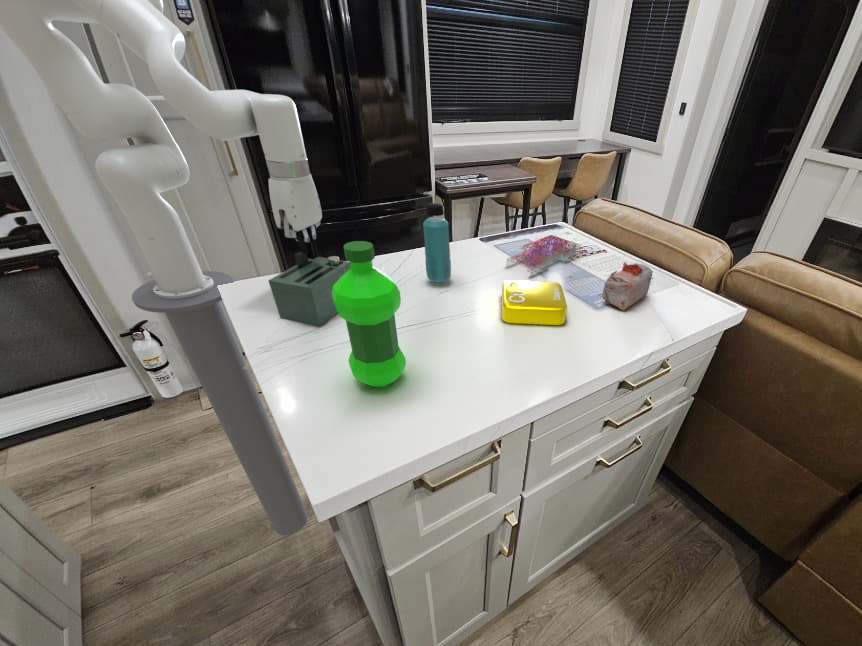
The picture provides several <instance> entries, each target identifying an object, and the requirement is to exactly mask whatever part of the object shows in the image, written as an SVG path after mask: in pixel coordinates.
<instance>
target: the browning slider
mask: <svg viewBox="0 0 862 646" xmlns="http://www.w3.org/2000/svg"><path fill="white" fill-rule="evenodd" d="M294 258H295V262H296V265H299V266H305V265H307V264H308V263H309V261H308V257H307V253H306V252H301V251H298V252H297V253H294Z"/></svg>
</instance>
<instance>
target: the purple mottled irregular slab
mask: <svg viewBox="0 0 862 646" xmlns="http://www.w3.org/2000/svg"><path fill="white" fill-rule="evenodd" d="M582 246H583V245H582V244H580V243H576V242H573V241H570V240H569V239H568V240H567V239H564V238H561V237H560V236H557V235H552V234H549V235H547V236H544V237H542V238H539V239H536V240H534V241H531V242H528V243H526V244H523V245H520V246H518V247H519V249H520V250H523V252H520V253H518V254H515V255H513V256H511V257H508V258H506V265H505V268H506V269H508V268H510V267H512V266H515V265H519V266H521V267H525V268H526V269H527V270H526V271H527V272H528V273H530V278H533V277H535V276H537V275H538V272H539V273H544V272H545V271H547V270H548V267H549V266H551V265H553V264H556V263H558V262H563V263H567V262H569V261H572V260H574V257H575V256H576V255H579V254H581V252H580V251H577V250H581V249H582ZM512 263H513V264H512Z"/></svg>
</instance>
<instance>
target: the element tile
mask: <svg viewBox="0 0 862 646" xmlns="http://www.w3.org/2000/svg"><path fill="white" fill-rule="evenodd" d="M565 297H566V296H565V295H564V289H563V286H562V285H561V284H560V283H558V282H552V281H533V280H532V281H531V280H512V279H505V280H504V281H503V282H502V286H501V319H502V321H503V322H504V323H506V324H507V323H508V324H515V325H516V324H517V325H518V324H520V325H536V326H537V325H538V326H539V325H540V326H561V325H563V324H565V322H566V317H567V311H568V306H567V301H566V298H565Z"/></svg>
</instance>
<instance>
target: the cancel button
mask: <svg viewBox="0 0 862 646" xmlns="http://www.w3.org/2000/svg"><path fill="white" fill-rule="evenodd" d="M327 258H328V262H329V266H335V267H337V266H339V265H340V257H339V256H337V255H332V256H328V257H327Z"/></svg>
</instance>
